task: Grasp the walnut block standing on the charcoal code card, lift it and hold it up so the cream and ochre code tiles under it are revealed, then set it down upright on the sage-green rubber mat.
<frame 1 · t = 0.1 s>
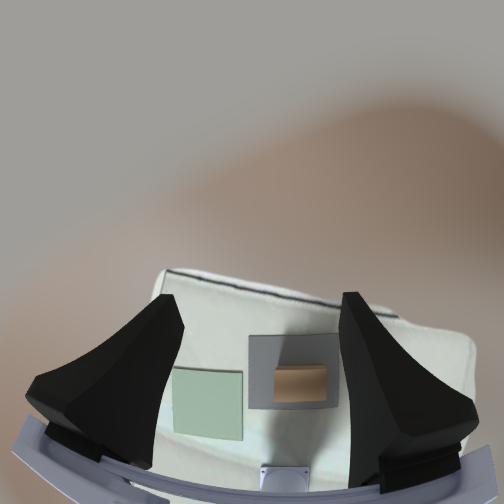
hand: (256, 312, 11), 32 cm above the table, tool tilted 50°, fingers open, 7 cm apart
code card: (293, 373, 39), on the table
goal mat: (206, 405, 39), on the table
walnut block: (300, 379, 38), resting on code card
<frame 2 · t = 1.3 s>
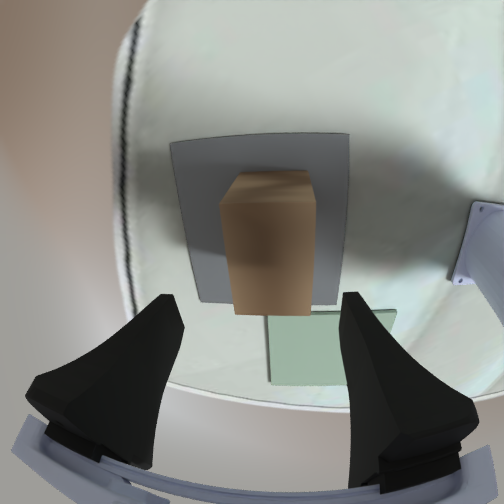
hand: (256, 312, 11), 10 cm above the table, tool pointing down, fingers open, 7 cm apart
code card: (263, 230, 20), on the table
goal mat: (327, 353, 26), on the table
walnut block: (276, 219, 19), resting on code card
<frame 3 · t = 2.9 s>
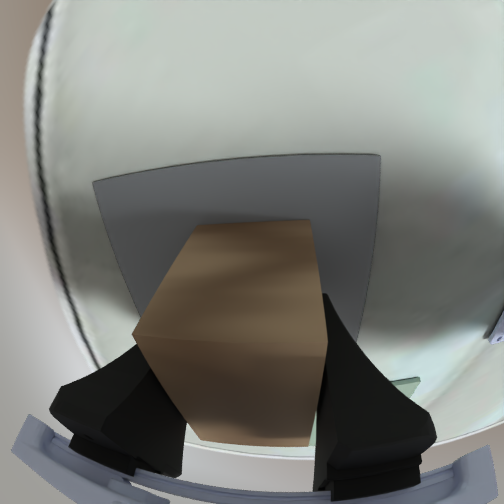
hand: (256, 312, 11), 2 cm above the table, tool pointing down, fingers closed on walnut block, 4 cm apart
code card: (241, 305, 13), on the table
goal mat: (332, 420, 20), on the table
walnut block: (259, 292, 13), resting on code card, touching gripper
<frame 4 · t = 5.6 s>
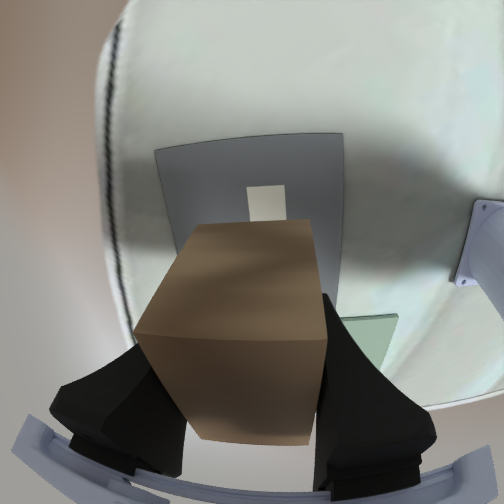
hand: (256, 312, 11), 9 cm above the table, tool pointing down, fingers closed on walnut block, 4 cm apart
code card: (255, 238, 19), on the table
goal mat: (327, 360, 25), on the table
walnut block: (259, 291, 13), point 7 cm above the table, touching gripper
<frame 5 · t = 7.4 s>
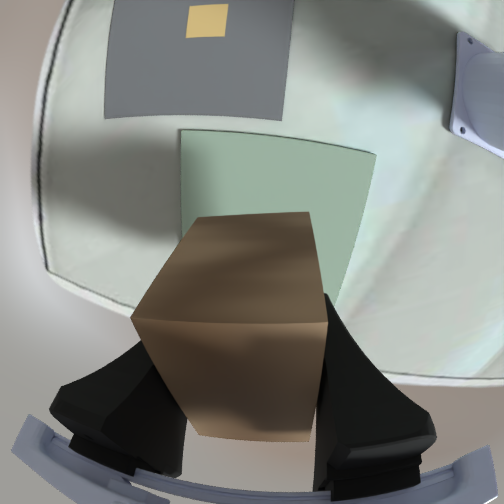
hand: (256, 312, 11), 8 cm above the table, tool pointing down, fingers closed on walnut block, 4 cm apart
code card: (192, 14, 11), on the table
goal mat: (269, 225, 18), on the table
walnut block: (259, 285, 13), point 7 cm above the table, touching gripper
when the fingers open (3 cm above the table, at t = 8.7 s): walnut block drops 1 cm, resting on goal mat.
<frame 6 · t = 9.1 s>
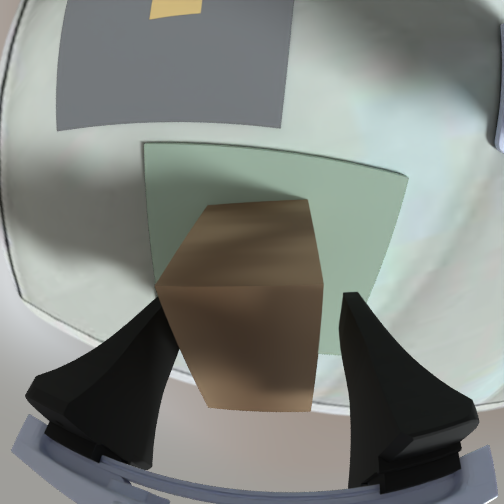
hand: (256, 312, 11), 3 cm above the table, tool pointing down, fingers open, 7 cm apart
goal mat: (263, 267, 14), on the table
walnut block: (263, 268, 14), resting on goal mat
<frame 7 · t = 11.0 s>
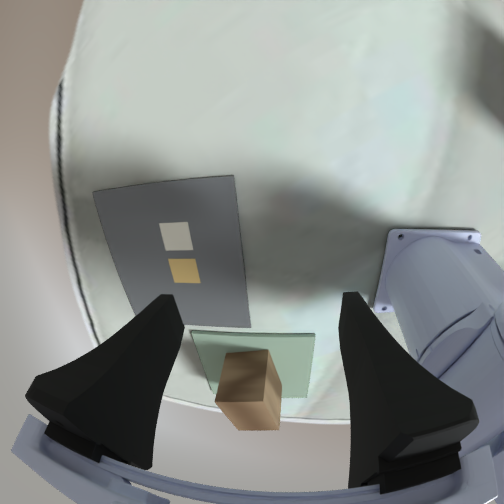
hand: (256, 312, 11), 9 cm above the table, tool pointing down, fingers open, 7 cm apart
code card: (172, 263, 22), on the table
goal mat: (256, 368, 29), on the table
walnut block: (255, 370, 28), resting on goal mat
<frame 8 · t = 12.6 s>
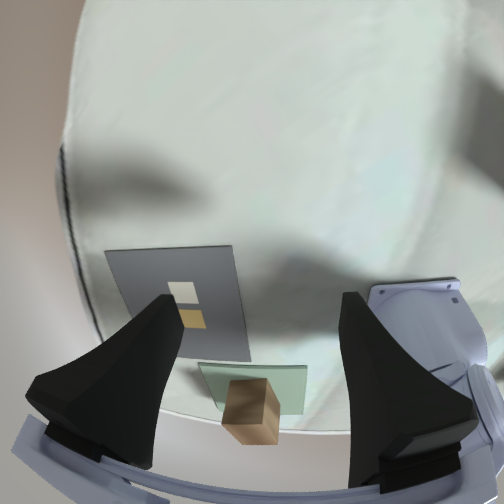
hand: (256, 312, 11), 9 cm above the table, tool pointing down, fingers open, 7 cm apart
code card: (181, 312, 25), on the table
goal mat: (257, 392, 31), on the table
walnut block: (256, 393, 31), resting on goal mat
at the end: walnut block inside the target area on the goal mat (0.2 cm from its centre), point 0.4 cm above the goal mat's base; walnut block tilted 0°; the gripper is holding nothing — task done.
